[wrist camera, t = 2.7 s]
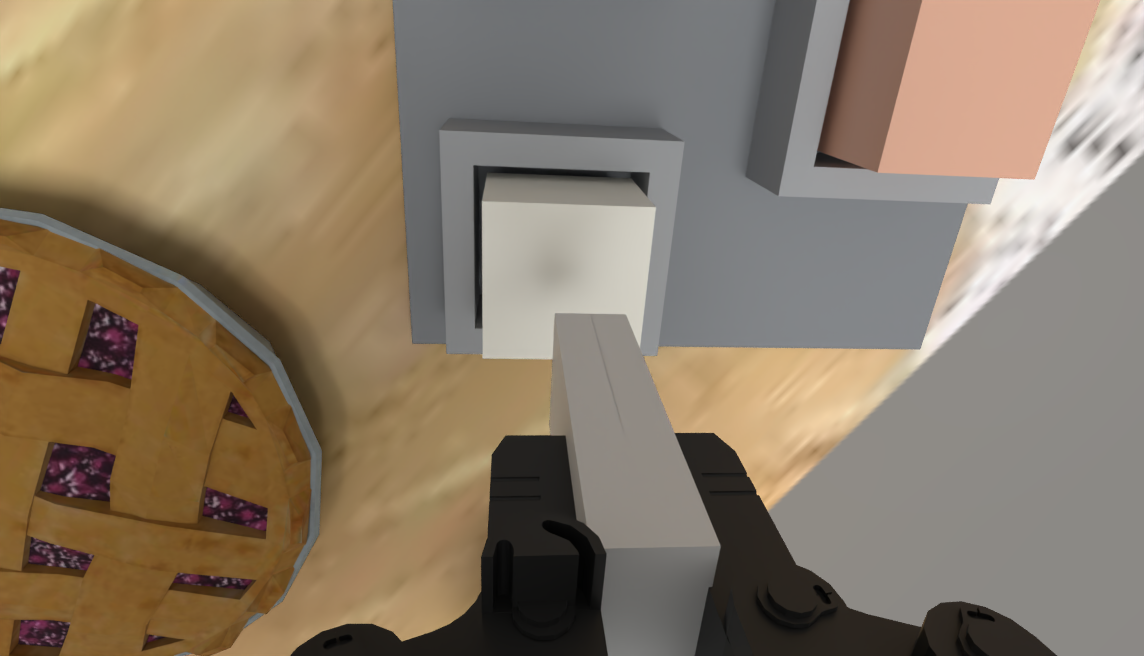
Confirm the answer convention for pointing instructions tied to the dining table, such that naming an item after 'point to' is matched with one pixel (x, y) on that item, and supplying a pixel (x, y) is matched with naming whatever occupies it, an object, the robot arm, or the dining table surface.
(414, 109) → the console
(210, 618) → the pie
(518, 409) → the dining table surface
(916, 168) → the terracotta key
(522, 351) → the ivory key
